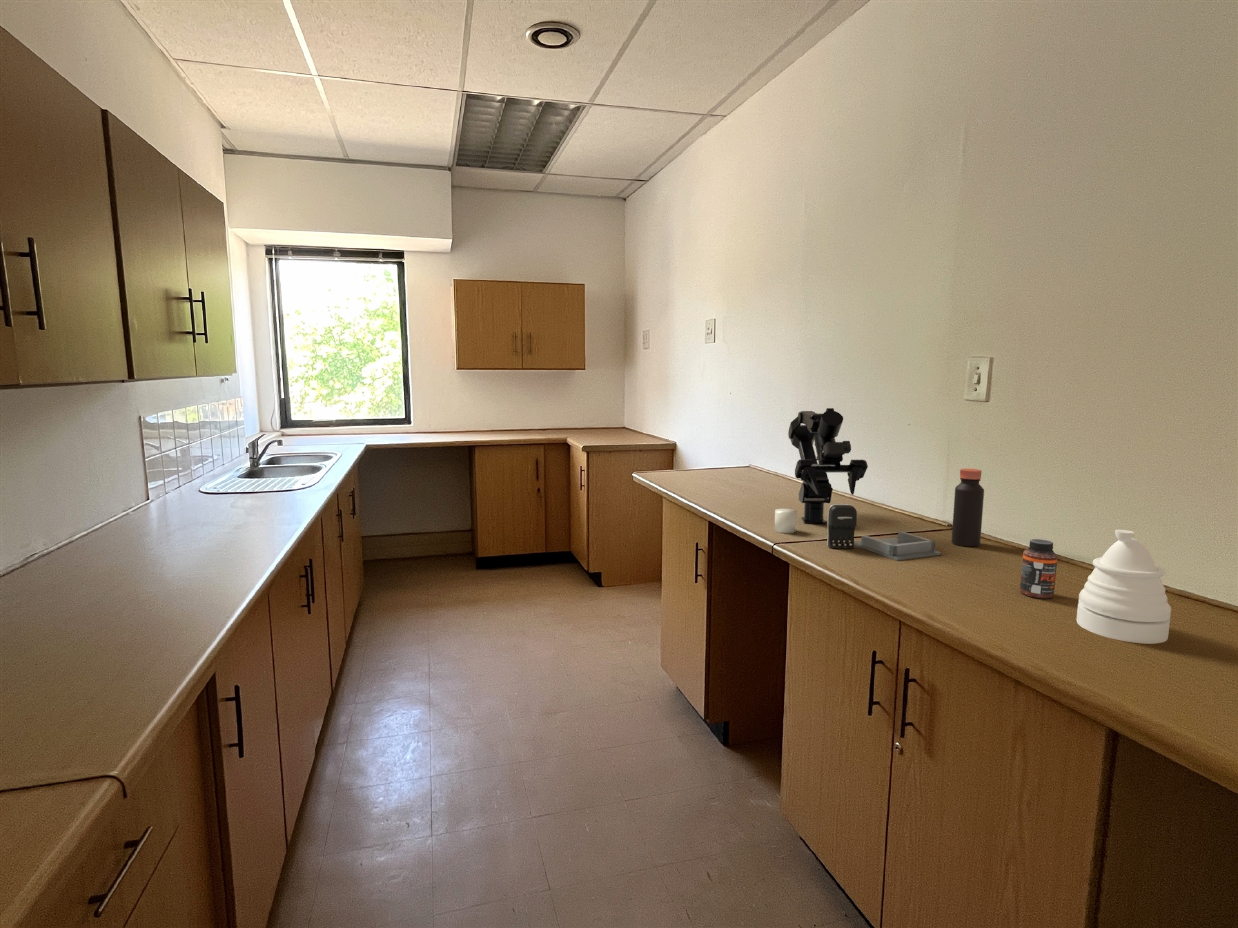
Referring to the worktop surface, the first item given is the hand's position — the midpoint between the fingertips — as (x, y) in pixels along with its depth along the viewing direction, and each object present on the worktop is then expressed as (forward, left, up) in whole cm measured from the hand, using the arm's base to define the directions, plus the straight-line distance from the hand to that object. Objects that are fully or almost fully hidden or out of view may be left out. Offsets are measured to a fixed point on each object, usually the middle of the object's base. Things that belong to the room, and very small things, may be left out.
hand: (835, 493), depth 172 cm
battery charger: (+7, +1, -13) cm, 15 cm away
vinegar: (-1, +34, -13) cm, 37 cm away
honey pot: (+56, +39, -13) cm, 70 cm away
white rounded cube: (-10, -12, -13) cm, 20 cm away
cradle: (+7, +14, -13) cm, 21 cm away
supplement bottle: (+39, +33, -13) cm, 53 cm away
